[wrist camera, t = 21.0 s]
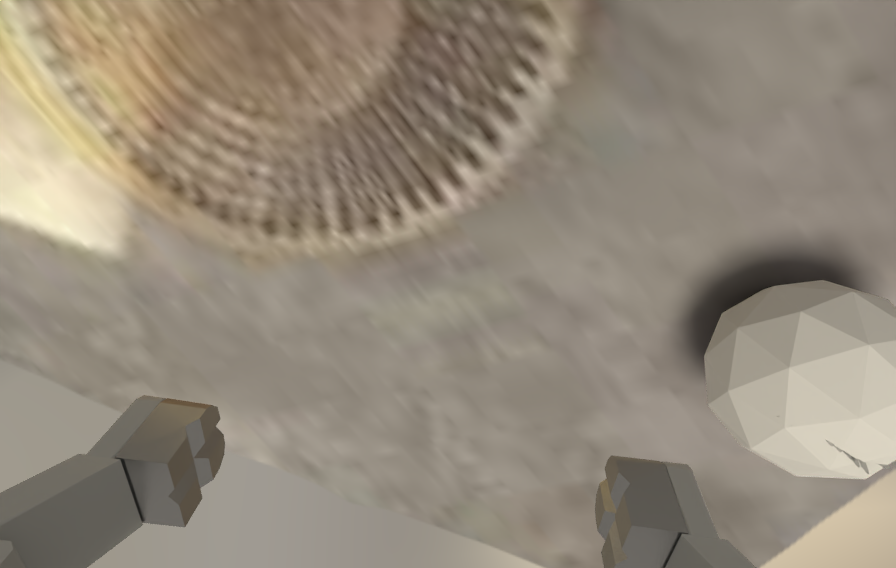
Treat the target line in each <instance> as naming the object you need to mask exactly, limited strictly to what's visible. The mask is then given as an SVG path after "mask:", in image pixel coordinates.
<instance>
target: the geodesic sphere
mask: <svg viewBox="0 0 896 568" xmlns="http://www.w3.org/2000/svg"><path fill="white" fill-rule="evenodd" d="M704 362H705V376H706V391H707V405H708V406H709V407H710V409H711V410H712V411H713V412H714V414H715V415H716V416H717V417H718V419H719V420H720V421H721V422H722V424H723V425H724V426H725V427H726V429H727V430H728V431H729V432H730V434H731V435H732V436H733V437H734V439H735V440H736V441H737V442H738V444H739V445H740V446H742V447H744V448H746V449H747V450H749V451H751V452H753V453H755V454H757V455H758V456H760V457H762V458H764V459H766V460H767V461H769V462H771V463H773V464H775V465H777V466H778V467H780V468H782V469H784V470H786V471H787V472H789V473H791V474H793V475H795V476H803V477H826V478H849V479H866V478H868V477H870V476H871V475H873V474H874V473H876V472H877V471H879V470H881V469H882V468H885V469H887V468H888V469H890V467H889V464H890V463H892V464H893V465H895V466H896V462H895V460H896V307H895V306H894V305H893V304H892V303H891V302H890V301H889V300H888V299H885V298H882V297H879V296H875V295H872V294H868V293H865V292H862V291H858V290H855V289H852V288H848V287H845V286H842V285H838V284H835V283H832V282H828V281H825V280H818V281H810V282H802V283H794V284H785V285H777V286H773V287H769V288H766V289H763V290H761V291H760V292H758V293H756V294H754V295H753V296H751V297H749V298H747V299H746V300H744V301H742V302H740V303H739V304H737V305H735V306H733V307H732V308H730V309H728V310H726V311H725V312H723V313H722V314H721V316H720V319H719V321H718V323H717V326H716V328H715V331H714V333H713V336H712V338H711V340H710V343H709V345H708V348H707V350H706V353H705V355H704Z"/></svg>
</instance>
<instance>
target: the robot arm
mask: <svg viewBox="0 0 896 568" xmlns="http://www.w3.org/2000/svg"><path fill="white" fill-rule="evenodd" d="M219 420H220V415H219V411H218V407H216V406H213V405H208V404H201V403H195V402H188V401H182V400H175V399H169V398H167V399H166V398H160V397H153V396H146V395H144V396H142V397H140V398H138V399H136V400H135V401H134V402H133V403H132V404H131V405H130V406H129V408H128V409H127V410H126V411H125V412H124V413H123V414H122V415H121V417H120V418H119V419H118V420H117V421H116V422H115V423H114V424H113V425H112V426H111V428H110V429H109V430H108V431H107V432H106V433H105V434H104V435H103V437H102V438H101V439H100V440H99V441H98V442H97V443H96V444H95V446H94V447H93V448H92V449H91V450H90V451H89V452H88V453H87V454H86V455H85V454H78V455H76V456H74V457H72V458H70V459H68V460H66V461H63V462H61V463H60V464H57V465H56V466H54V467H51V468H49V469H47V470H46V471H44V472H42V473H39V474H37V475H35V476H33V477H32V478H29V479H27V480H25V481H23V482H21V483H20V484H17V485H15V486H13V487H11V488H9V489H7V490H5V491H3V492H1V493H0V568H87V567H88V566H90V565H91V564H92V563H94V562H95V561H96V560H98V559H99V558H100V557H102V556H103V555H104V554H105V553H107V552H108V551H109V550H111V549H112V548H113V547H115V546H116V545H117V544H119V543H120V542H121V541H123V540H124V539H125V538H127V537H128V536H129V535H130V534H132V533H133V532H134V531H136V530H137V529H138V528H140V527H141V526H142V525H143V524H142V523H150V524H160V525H169V526H179V527H185V526H186V525H187V523H188V521H189V520H190V518H191V516H192V514H193V513H194V511H195V509H196V508H197V506H198V504H199V503H200V501H201V500H202V494H201V490H200V488H201V487H202V486H204V485H206V484H207V483H209V482H210V481H212V480H213V479H214V477H215V475H216V474H217V472H218V470H219V468H220V465H221V462H222V459H223V456H224V449H225V441H224V435H223V434H222V433H221V431H220V430H219V429H218V428H217V427H216V425H217V423H218V422H219ZM605 472H606V477H607V479H605V480H604V481H602V482H601V483H600V484H599V487H598V491H597V494H596V504H595V515H596V524H597V530H598V532H599V533H600V534H601V536H602V537H603V538H604V539H605V540H606V541H605V543H604V546H603V549H602V552H601V553H602V559H603V564H604V568H756V567H755V566H754V565H753V564H752V563H751V562H750V561H749V560H748V559H747V558H746V557H745V556H744V555H743V554H742V553H741V552H740V551H738V550H737V549H736V548H735V547H734V546H733V545H732V544H731V543H730V542H729V541H728V540H725V539H719V536H718V534H717V531H716V529H715V526H714V524H713V521H712V519H711V516H710V514H709V511H708V509H707V506H706V504H705V501H704V499H703V496H702V494H701V491H700V489H699V486H698V484H697V481H696V479H695V476H694V474H693V471H692V469H691V468H690V467H689V466H688V465H687V464H678V463H670V462H660V461H654V460H646V459H637V458H628V457H620V456H611V457H610V458H609V459H608V461H607V463H606V466H605Z"/></svg>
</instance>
